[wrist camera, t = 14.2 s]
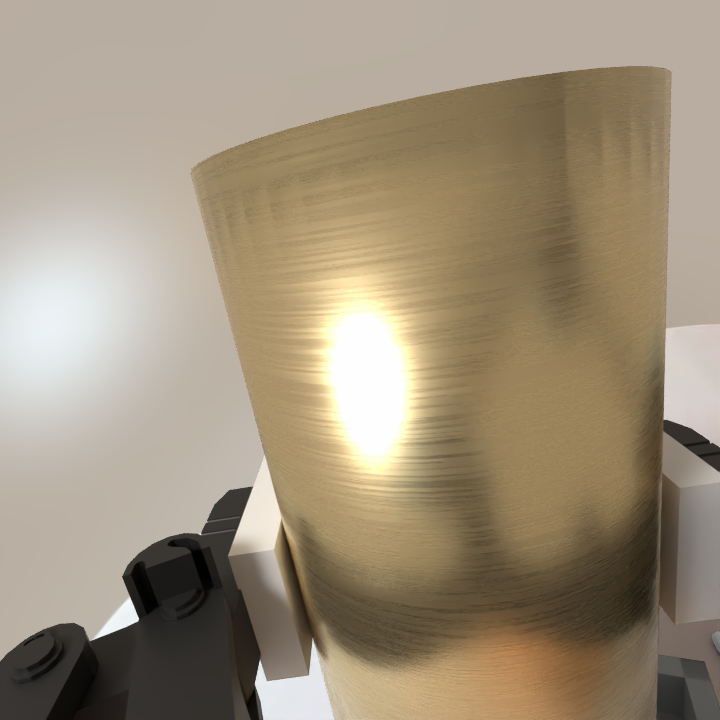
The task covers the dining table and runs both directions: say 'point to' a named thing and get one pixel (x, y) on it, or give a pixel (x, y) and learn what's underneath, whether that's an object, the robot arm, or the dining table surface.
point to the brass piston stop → (463, 387)
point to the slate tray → (685, 690)
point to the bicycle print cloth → (716, 640)
